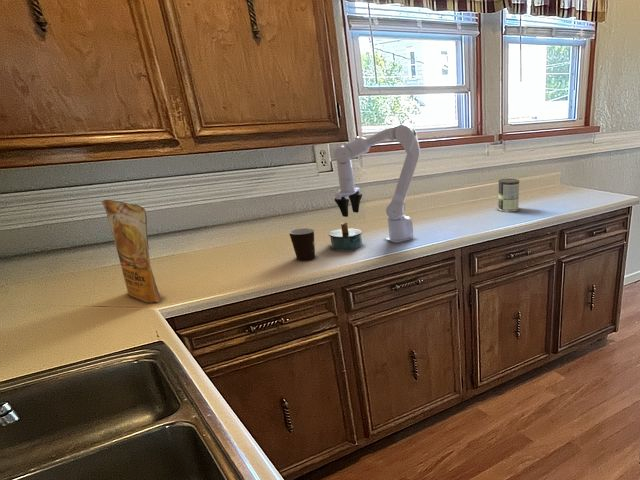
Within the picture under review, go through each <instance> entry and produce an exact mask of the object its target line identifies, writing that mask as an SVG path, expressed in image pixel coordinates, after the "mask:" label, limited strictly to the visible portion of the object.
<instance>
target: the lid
mask: <svg viewBox="0 0 640 480" xmlns="http://www.w3.org/2000/svg"><path fill="white" fill-rule="evenodd" d="M340 227H341V228H338V229H334V230H332V231H329V232H328V237H334V238H351V237H356V236H359V235H361V236H362V235H363V231H362V230H361V229H358V228H353V227H351V228H349V225H348V222H341V223H340Z"/></svg>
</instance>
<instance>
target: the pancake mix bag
mask: <svg viewBox="0 0 640 480" xmlns="http://www.w3.org/2000/svg"><path fill="white" fill-rule="evenodd" d="M101 203H102V205H103V207H104V210H105V213H106V217H107V220H108V223H109V227H110V231H111V234H112V236H113V241H114V246H115V249H116V252H117V256H118V260H119V264H120V267H121V272H122V275H123V279H124V283H125V287H126V290H127V293H128V295H129V296H130V297H132V298H134V299H137V300H139V301H141V302H144V303H145V304H152V303H160V302H161V301H162V296H161V294H160V292H159V288H158V286H157V285H158V284H157V283H156V280H155V276H154V273H153V269H152V266H151V260H150V258H151V257H150V249H149V247H150V246H149V239H148V219H147V217H148V216H147V211H146V209H145V208H144V207H142V205H141V206H140V205H139V204H133V203H128V202H123V201H119V200H113V199H104V200H102V201H101Z"/></svg>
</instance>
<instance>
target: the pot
mask: <svg viewBox="0 0 640 480" xmlns="http://www.w3.org/2000/svg"><path fill="white" fill-rule="evenodd" d="M329 237H330V236H329ZM330 245H331V249H333V250H336V251H353V250H357V249H360V248H361V247H363V240H362V234H361V235H359V236H356V237H351V238H334V237H330Z"/></svg>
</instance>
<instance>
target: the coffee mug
mask: <svg viewBox="0 0 640 480" xmlns="http://www.w3.org/2000/svg"><path fill="white" fill-rule="evenodd" d="M288 234H289V237H290V241H291V244H292V247H293V250H294V253H295V256H296V259H297V261H300V262H308V261H312V260H315V259H316V252H315V251H316V248H315V245H316V244H315V230H314V229H313V228H309V227H308V228H307V227H305V228H295V229H291V230H289V231H288Z"/></svg>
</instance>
